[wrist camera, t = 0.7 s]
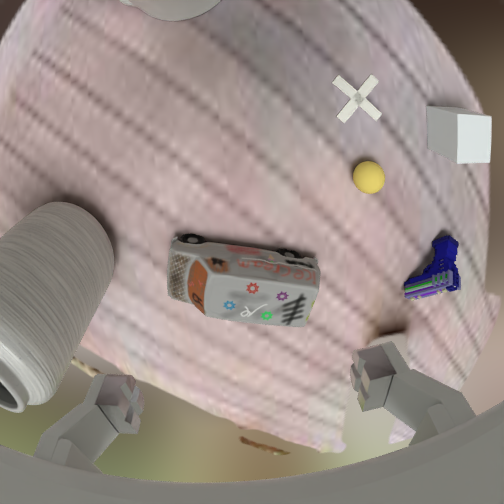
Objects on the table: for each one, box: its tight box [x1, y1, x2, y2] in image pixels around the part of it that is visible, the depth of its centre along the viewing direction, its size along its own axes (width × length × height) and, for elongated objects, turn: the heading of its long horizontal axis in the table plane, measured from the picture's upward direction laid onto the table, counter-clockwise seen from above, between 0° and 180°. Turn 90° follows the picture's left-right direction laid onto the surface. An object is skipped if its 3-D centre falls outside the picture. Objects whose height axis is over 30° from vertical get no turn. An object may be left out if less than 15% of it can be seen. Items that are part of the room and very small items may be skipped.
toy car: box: [167, 234, 320, 327], centre depth 50 cm, size 11×25×10 cm, turn 80°
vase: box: [0, 202, 114, 412], centre depth 36 cm, size 20×20×34 cm
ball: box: [353, 161, 385, 194], centre depth 43 cm, size 5×5×5 cm
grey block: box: [426, 106, 491, 164], centre depth 36 cm, size 7×7×9 cm
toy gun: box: [404, 235, 461, 301], centre depth 52 cm, size 4×13×10 cm
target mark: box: [332, 75, 382, 123], centre depth 38 cm, size 9×9×1 cm
